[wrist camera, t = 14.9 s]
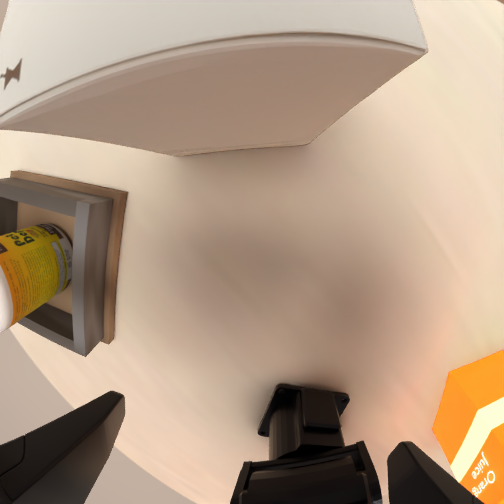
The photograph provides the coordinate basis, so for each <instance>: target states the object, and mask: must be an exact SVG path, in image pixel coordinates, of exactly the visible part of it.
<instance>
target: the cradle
mask: <svg viewBox="0 0 504 504" xmlns="http://www.w3.org/2000/svg"><path fill="white" fill-rule="evenodd" d="M127 193H128V192H124V191H120V190H115V189H110V188H106V187H101V186H96V185H91V184H86V183H81V182H77V181H72V180H66V179H61V178H56V177H51V176H46V175H41V174H35V173H30V172H24V171H19V170H18V171H11V176H10V178H4V179H0V236H1V235H5V234H8V233H11V232H15V231H18V230H21V229H25V228H28V227H31V226H35V225H39V224H51V225H53V226H55V227H57V228H59V229H60V230H61V231H62V232H63V233H64V234H65V236H66V237H67V239H68V240H69V242H70V244H71V247H72V249H73V255H72V282H71V283H70V285H69V286H68V287H67V288H66V289H65V290H64V291H62V292H61V293H59V294H58V295H56V296H55V297H53V298H52V299H50V300H49V301H47V302H46V303H44V304H43V305H41V306H40V307H38V308H37V309H35V310H34V311H32V312H31V313H29V314H28V315H26V316H25V317H23V318H22V319H21V320H19V321H18V323H19V324H21V325H23V326H25V327H26V328H28V329H30V330H32V331H34V332H36V333H37V334H39V335H41V336H43V337H45V338H47V339H49V340H51V341H53V342H55V343H57V344H59V345H61V346H63V347H65V348H67V349H69V350H71V351H74V352H76V353H78V354H80V355H82V356H85V357H86V356H87V355H88V354H89V353H90V352H91V351H92V349H93V348H94V347H95V346H96V345H97V344H98V343H99V342H100V341H101V342H104V343H106V344H110V343H111V341H112V340H113V339H114V318H115V297H116V282H117V270H118V259H119V249H120V241H121V233H122V225H123V218H124V211H125V205H126V199H127Z"/></svg>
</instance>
